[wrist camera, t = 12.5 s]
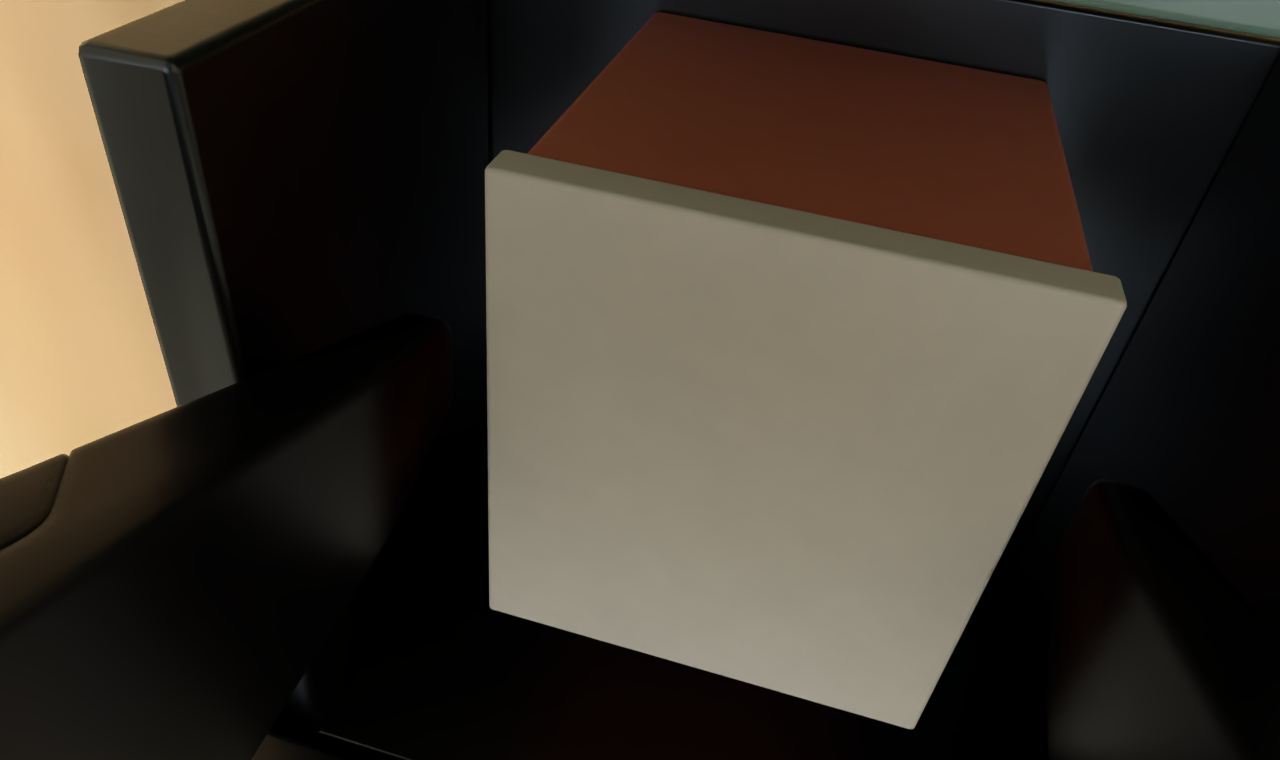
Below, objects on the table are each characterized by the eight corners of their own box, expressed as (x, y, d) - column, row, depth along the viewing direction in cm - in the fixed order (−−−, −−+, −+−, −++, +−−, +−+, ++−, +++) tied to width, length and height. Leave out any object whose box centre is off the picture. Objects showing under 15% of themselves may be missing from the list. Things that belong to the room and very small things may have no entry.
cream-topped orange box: (923, 435, 13) (913, 732, 9) (612, 361, 14) (487, 609, 10) (1062, 72, 10) (1131, 304, 6) (647, -3, 11) (482, 166, 7)
